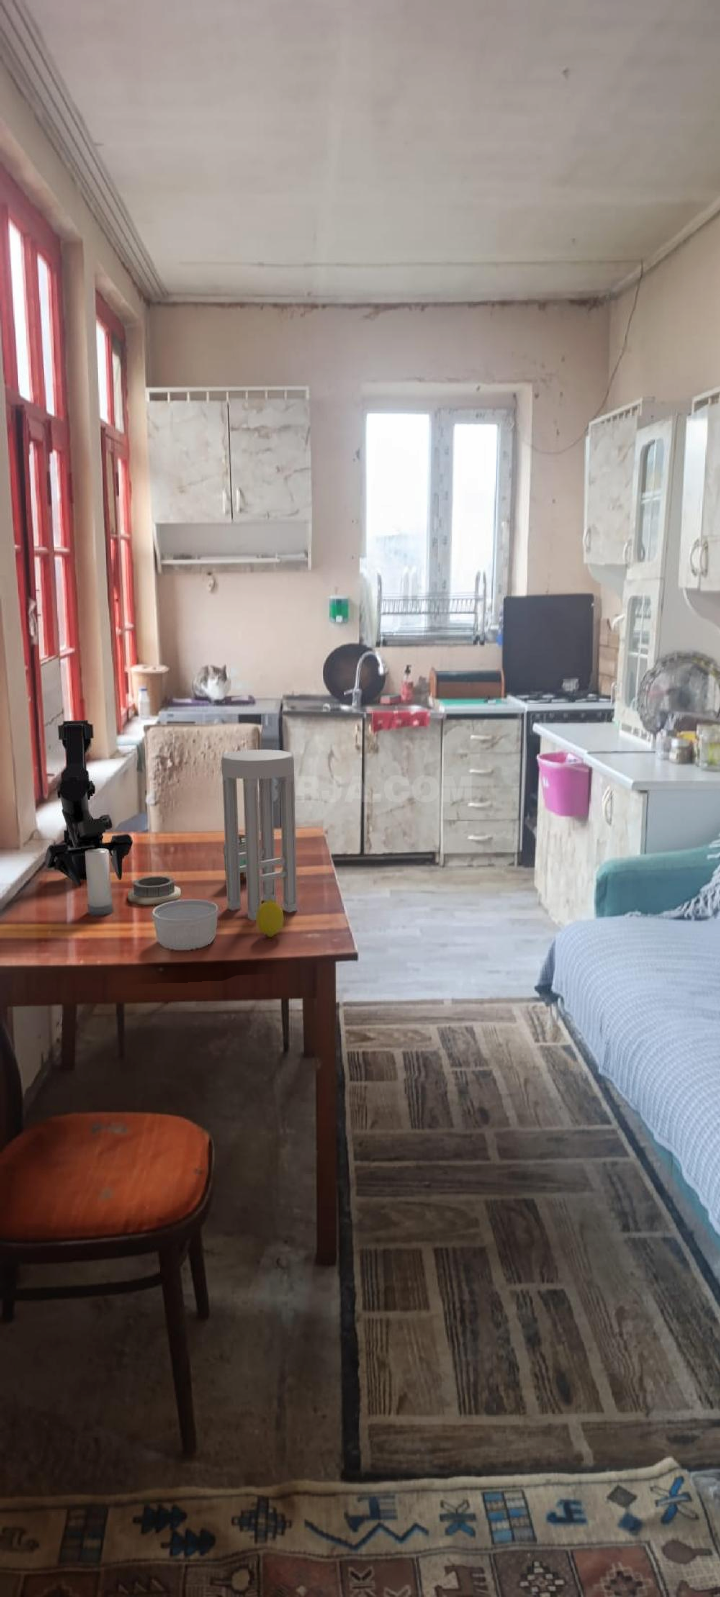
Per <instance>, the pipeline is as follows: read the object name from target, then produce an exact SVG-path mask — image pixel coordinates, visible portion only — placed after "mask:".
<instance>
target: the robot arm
mask: <svg viewBox="0 0 720 1597" xmlns="http://www.w3.org/2000/svg"><path fill="white" fill-rule="evenodd" d="M62 723H63V724H60V725H57V730H58V731H57V732H58V740H59V741H60V740H61V743H62V746H63V748H64V750H65V752H66V753H65V757H66V758H65V759H66V762H65V764H66V765H65V766H66V767H65V768H64V769H63V770H62V772H61V773H60V782H58V783H57V791H56V793H57V798H58V799H60V801H61V808H62V809H61V813H62V816H63V818H64V821H65V825H66V826H65V827H66V828H65V829H64V830H63V839H64V840H63V842H60V843H55V844H50V845H49V846H48V847H47V850H46V853H45V856H44V862H45V864H46V868H48V869H53V870H54V871H59V872H61V873H62V874H64V876H66V877H67V878H68V879H70V880H71V881H72V882H73V883H74V884H75V886H77V887H78V888H80V887H81V886H82V882H81V879H84V880H85V879H86V880H87V874H86V859H85V851H87V850H90V849H98V848H102V849H108V850H109V857H110V863H111V864H112V865H111V866H112V867H113V870H114V872H115V875H116V877H117V879H118V881H120V880H122V878H123V860H124V858H125V857H126V856H128V855H129V853H130V851H131V848H132V846H133V843H134V840H133V838H132V836H131V835H130V834H128V833H121V834H116V835H112V837H111V839H110V841H109V842H103V839H104V834H105V833H107V831H109V830H111V829H112V828H113V822H112V821H113V820H112V819H111V817H110V814H103V815H101V816H99V818H93V816H92V815H91V813H90V809H89V808H90V807H89V801H90V800H91V797H94V794H96V785H95V784H94V782H93V780H90V773H89V771H88V770H87V769H88V768H87V754H89V751H90V749H91V748H92V739H94V738H95V737H94V736H95V733H94V723H92V724H91V723H89V720H88V719H83V720H82V719H81V720H80V719H77V720H63V722H62Z"/></svg>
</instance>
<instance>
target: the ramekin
mask: <svg viewBox="0 0 720 1597" xmlns="http://www.w3.org/2000/svg"><path fill="white" fill-rule="evenodd" d="M218 916H219V906H218V905H217V904H216V903H215V902H212V901H209V900H205V899H204V900H203V899H177V900H174V901H171V902H168V903H162V904H158V905H157V906H155V908H154V909H152V911H151V918H152V921H153V924H154V931H155V936H156V939H157V941H158V944H160V945H161V946H162V947H163V948H165V949H167V948H169V949H168V950H172V949H173V950H174V951H191V949H193V950H197V949H196V948H198V949H202V948H204V946H205V947H206V945H207V946H208V944H209V945H210V944H211V943H213V941H214V940H215V937H216V935H217V928H218V927H217V926H218Z"/></svg>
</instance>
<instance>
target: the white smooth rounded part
mask: <svg viewBox="0 0 720 1597" xmlns="http://www.w3.org/2000/svg"><path fill="white" fill-rule="evenodd" d="M85 859H86V874H87V879H86V886H87V887H86V888H87V902H88V903H87V914H88V915H89V916H91V917H103V916H108V915H111V914H113V913H114V905H113V904H114V903H113V901H112V900H113V898H112V887H111V886H112V884H111V870H110V868H111V867H110V853H109V850H108V849H102V848H98V849H90V850H87V851H85Z"/></svg>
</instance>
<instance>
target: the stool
mask: <svg viewBox="0 0 720 1597" xmlns="http://www.w3.org/2000/svg"><path fill="white" fill-rule="evenodd" d="M220 764H221V776H222V797H223V800H222V801H223V802H222V804H223V822H224V823H223V825H224V826H223V827H224V845H225V856H226V873H225V883H226V882H227V884H226V904H227V909H229V910H231V911H235V910H236V911H237V910H240V909H242V900H241V896H242V895H241V883H240V873H241V872H246V882H245V883H246V905H247V908H246V909H247V919H249V920H251V921H256V917H257V911H258V908H259V907H260V905H261V904H262V901H263V902H266V901H268V900H272V901H274V902H276V901H277V897H276V896H277V895H276V893H277V892H276V889H277V888H276V879H280V878H281V879H282V902H283V903H282V905H283V907H282V911H285V912H286V913H293V911H294V912H297V911H298V887H297V885H298V883H297V881H298V880H297V844H296V842H297V841H296V840H297V837H296V836H297V835H296V805H295V804H296V803H295V801H296V799H295V797H296V796H295V794H296V793H295V759H294V755H293V752H290V751H285V750H278V749H247V750H245V749H244V750H236V751H230V752H227V753H223V755H222V754H221V763H220ZM275 778H276V779H277V778H279V787H280V793H279V794H280V796H279V797H280V825H281V826H280V829H281V830H280V831H281V856H280V857H276V856H275V854H276V853H275V851H276V850H275V827H274V826H275V825H274V824H275V822H274V821H275V817H274V789H273V788H274V785H273V782H274V781H273V780H274V779H275ZM237 779H239V780H240V779H242V781H243V782H242V784H243V788H242V789H243V790H242V792H243V819H244V823H243V824H244V835H245V852H243V853H239V836H238V834H239V818H238V817H239V814H238V811H239V810H238V789H237V787H238V786H237ZM245 858H246V865H245V866H240V865H239V859H245ZM281 864H282V865H281ZM276 865H277V866H278V865H281V866H282V867H281V868H282V870H279V871H276V867H275V866H276Z"/></svg>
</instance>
